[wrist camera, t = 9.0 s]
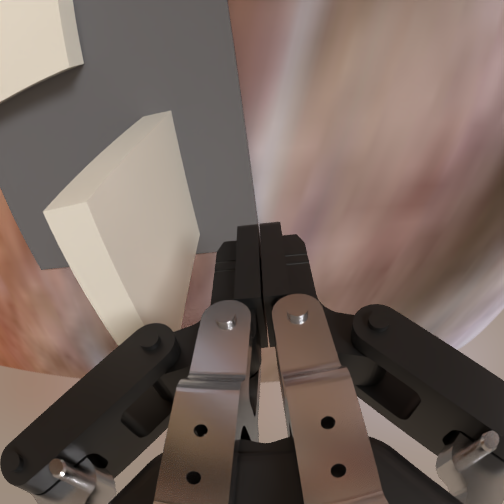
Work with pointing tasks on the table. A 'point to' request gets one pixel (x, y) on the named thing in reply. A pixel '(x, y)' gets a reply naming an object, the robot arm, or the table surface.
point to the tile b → (131, 229)
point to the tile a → (36, 43)
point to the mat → (134, 114)
